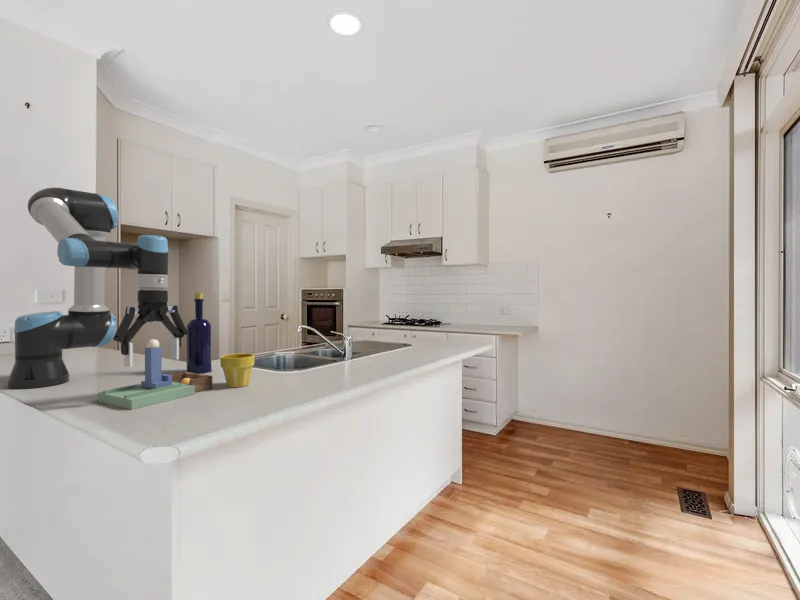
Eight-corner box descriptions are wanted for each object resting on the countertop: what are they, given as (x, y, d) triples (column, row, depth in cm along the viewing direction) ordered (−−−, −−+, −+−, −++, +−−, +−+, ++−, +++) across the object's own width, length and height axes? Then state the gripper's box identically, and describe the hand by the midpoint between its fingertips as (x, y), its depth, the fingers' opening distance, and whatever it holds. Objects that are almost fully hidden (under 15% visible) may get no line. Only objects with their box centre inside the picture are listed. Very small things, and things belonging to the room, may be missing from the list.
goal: (164, 388, 129) (164, 375, 129) (185, 384, 135) (185, 371, 135) (191, 393, 123) (191, 380, 123) (212, 388, 129) (212, 375, 129)
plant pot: (213, 386, 131) (213, 356, 131) (239, 380, 140) (239, 352, 140) (235, 390, 127) (235, 359, 126) (261, 384, 136) (261, 354, 135)
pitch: (97, 401, 113) (97, 389, 113) (161, 388, 129) (161, 377, 129) (131, 409, 106) (131, 396, 106) (194, 394, 122) (194, 383, 122)
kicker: (140, 386, 119) (140, 339, 119) (158, 383, 124) (158, 337, 124) (155, 389, 116) (154, 340, 116) (173, 385, 121) (172, 338, 120)
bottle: (205, 374, 151) (204, 292, 150) (180, 374, 151) (180, 292, 151) (217, 369, 160) (216, 292, 160) (193, 369, 160) (193, 292, 160)
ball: (185, 389, 130) (175, 387, 127) (189, 378, 131) (180, 376, 128) (192, 390, 128) (183, 388, 125) (196, 379, 129) (187, 377, 127)
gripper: (113, 289, 106) (114, 371, 106) (200, 289, 128) (199, 357, 129) (97, 288, 109) (98, 368, 110) (184, 289, 131) (184, 355, 132)
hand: (152, 362), depth 119 cm, fingers open, 13 cm apart
